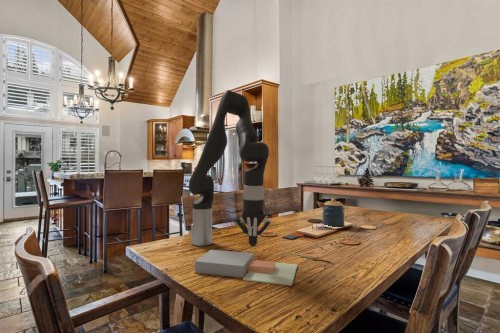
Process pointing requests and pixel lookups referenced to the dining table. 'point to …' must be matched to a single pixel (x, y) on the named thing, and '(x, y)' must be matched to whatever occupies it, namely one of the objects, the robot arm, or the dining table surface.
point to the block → (261, 266)
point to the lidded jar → (333, 213)
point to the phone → (293, 236)
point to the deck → (224, 263)
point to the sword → (310, 257)
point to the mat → (274, 275)
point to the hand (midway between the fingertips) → (253, 245)
